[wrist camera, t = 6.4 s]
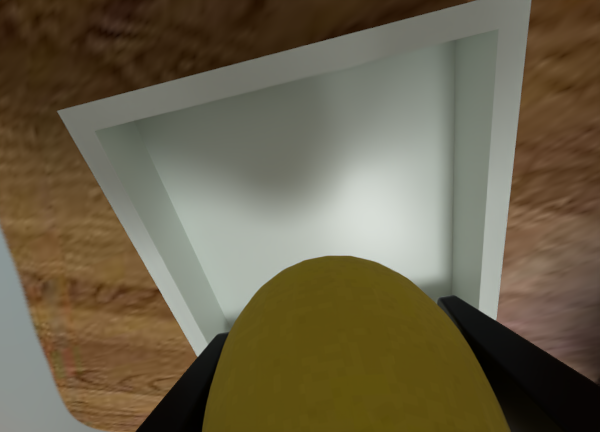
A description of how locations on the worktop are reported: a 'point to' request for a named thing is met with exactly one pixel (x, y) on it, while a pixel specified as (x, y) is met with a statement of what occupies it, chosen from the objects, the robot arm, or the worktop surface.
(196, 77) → the tray
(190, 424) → the robot arm
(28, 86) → the worktop surface
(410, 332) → the lemon
